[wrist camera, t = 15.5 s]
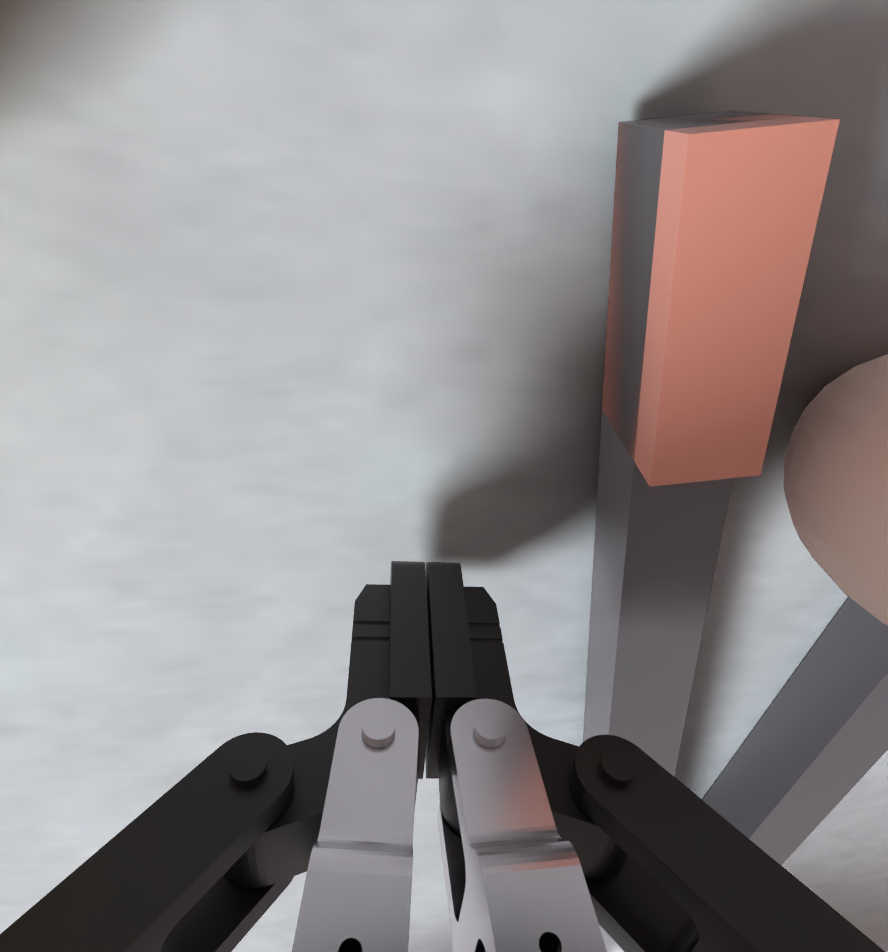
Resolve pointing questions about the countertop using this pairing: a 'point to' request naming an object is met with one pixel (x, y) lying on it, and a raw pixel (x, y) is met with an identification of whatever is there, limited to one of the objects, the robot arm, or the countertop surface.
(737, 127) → the tong leg
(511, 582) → the countertop surface
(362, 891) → the robot arm
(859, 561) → the egg
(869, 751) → the base
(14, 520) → the countertop surface
